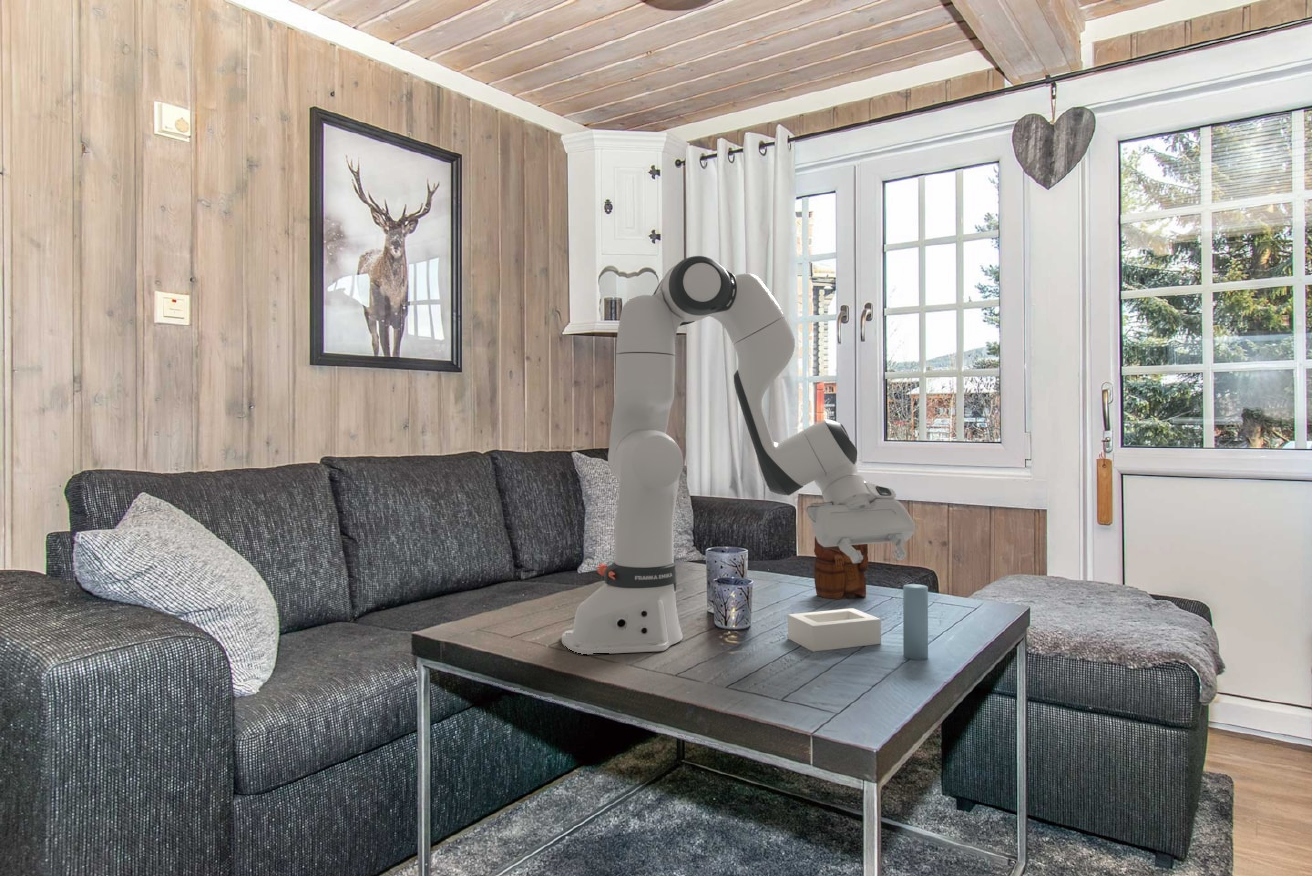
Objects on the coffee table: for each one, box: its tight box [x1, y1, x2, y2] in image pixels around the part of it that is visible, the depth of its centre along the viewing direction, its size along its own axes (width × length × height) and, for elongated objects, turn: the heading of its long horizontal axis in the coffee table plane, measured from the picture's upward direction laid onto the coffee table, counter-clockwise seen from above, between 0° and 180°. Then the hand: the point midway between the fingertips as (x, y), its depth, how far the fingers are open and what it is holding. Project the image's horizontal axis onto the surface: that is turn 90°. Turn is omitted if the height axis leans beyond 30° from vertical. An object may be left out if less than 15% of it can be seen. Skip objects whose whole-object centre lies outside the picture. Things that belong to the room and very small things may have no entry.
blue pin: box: [902, 583, 929, 661], centre depth 134 cm, size 4×4×12 cm
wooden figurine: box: [813, 536, 869, 600], centre depth 182 cm, size 12×6×18 cm, turn 97°
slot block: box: [787, 607, 882, 653], centre depth 144 cm, size 14×9×4 cm, turn 109°
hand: (880, 559), depth 144 cm, fingers open, 8 cm apart
